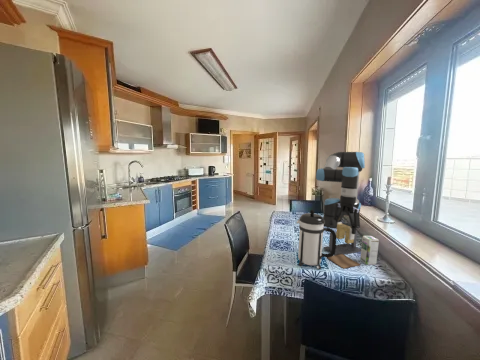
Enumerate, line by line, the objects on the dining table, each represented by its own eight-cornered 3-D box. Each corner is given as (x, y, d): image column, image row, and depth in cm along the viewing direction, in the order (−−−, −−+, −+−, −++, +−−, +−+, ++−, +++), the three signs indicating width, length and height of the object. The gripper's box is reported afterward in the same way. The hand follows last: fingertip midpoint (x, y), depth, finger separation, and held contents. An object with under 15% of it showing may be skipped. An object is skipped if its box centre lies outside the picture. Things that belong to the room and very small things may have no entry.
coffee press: (309, 274, 101) (313, 215, 98) (289, 259, 116) (292, 207, 112) (335, 267, 108) (339, 212, 105) (313, 253, 123) (316, 205, 119)
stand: (348, 244, 136) (349, 227, 135) (361, 251, 127) (363, 233, 125) (323, 248, 130) (325, 230, 128) (336, 256, 120) (337, 236, 119)
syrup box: (359, 259, 117) (361, 235, 115) (369, 259, 117) (371, 235, 115) (366, 265, 111) (369, 239, 109) (376, 264, 111) (379, 239, 110)
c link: (341, 237, 117) (342, 223, 116) (353, 242, 110) (354, 228, 109) (336, 237, 116) (337, 224, 115) (347, 243, 108) (348, 229, 107)
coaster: (342, 255, 122) (342, 254, 122) (360, 265, 111) (360, 264, 111) (326, 258, 118) (326, 257, 118) (343, 268, 107) (343, 267, 107)
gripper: (328, 192, 118) (325, 230, 121) (360, 200, 99) (356, 244, 101) (338, 192, 121) (335, 229, 123) (371, 199, 101) (367, 243, 104)
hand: (344, 236), depth 112 cm, fingers closed on c link, 8 cm apart
